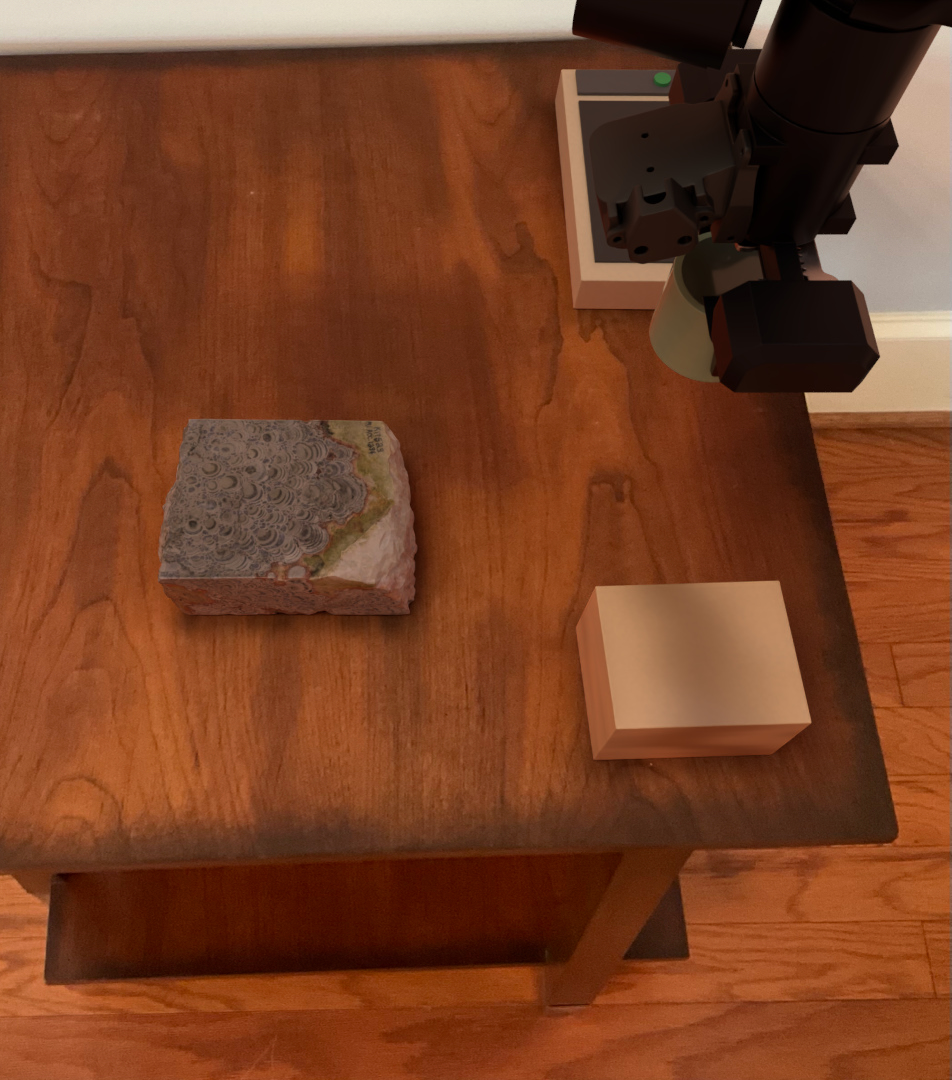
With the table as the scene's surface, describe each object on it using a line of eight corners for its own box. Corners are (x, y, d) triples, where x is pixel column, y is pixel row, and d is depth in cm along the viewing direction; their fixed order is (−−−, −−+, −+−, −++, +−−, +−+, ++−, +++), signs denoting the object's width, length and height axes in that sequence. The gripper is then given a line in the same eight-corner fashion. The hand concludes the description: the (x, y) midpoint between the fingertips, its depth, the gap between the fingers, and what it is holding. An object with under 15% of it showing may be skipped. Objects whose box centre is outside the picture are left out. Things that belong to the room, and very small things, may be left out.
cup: (719, 278, 60) (749, 213, 56) (783, 357, 58) (820, 296, 53) (627, 316, 59) (650, 253, 55) (689, 399, 57) (718, 340, 52)
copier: (554, 101, 83) (562, 62, 80) (685, 102, 83) (698, 62, 80) (573, 309, 75) (582, 274, 71) (719, 310, 74) (736, 275, 71)
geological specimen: (164, 417, 65) (415, 410, 64) (184, 470, 70) (415, 465, 69) (147, 577, 60) (418, 572, 59) (169, 621, 65) (419, 618, 64)
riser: (744, 621, 64) (779, 580, 59) (772, 754, 60) (812, 723, 55) (575, 627, 64) (595, 585, 59) (593, 760, 61) (616, 729, 55)
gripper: (601, -66, 48) (545, 193, 62) (653, 265, 40) (575, 477, 54) (855, -67, 48) (741, 192, 62) (960, 264, 39) (801, 477, 53)
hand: (711, 324), depth 58 cm, fingers closed on cup, 6 cm apart
